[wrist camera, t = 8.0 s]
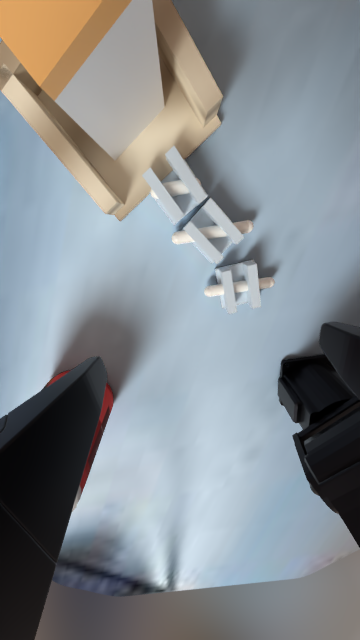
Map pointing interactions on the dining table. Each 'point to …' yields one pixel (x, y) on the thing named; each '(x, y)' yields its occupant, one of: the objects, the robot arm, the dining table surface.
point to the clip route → (207, 232)
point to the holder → (154, 141)
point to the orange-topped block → (91, 62)
